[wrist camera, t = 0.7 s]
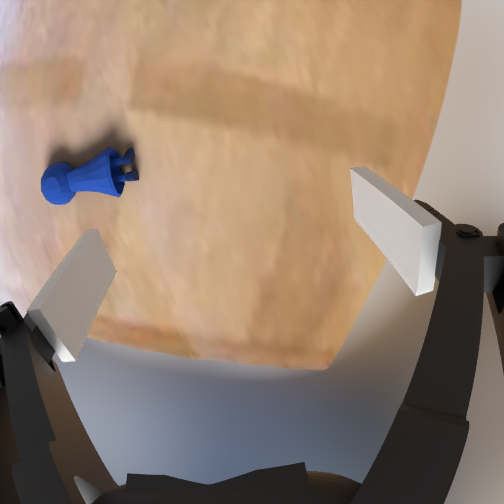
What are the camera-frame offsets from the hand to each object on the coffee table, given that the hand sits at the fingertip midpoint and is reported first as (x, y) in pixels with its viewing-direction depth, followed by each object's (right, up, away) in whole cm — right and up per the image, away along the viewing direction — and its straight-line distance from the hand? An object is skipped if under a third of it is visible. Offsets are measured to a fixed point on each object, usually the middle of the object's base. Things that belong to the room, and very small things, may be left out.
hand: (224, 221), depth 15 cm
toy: (-22, +10, +24) cm, 34 cm away
